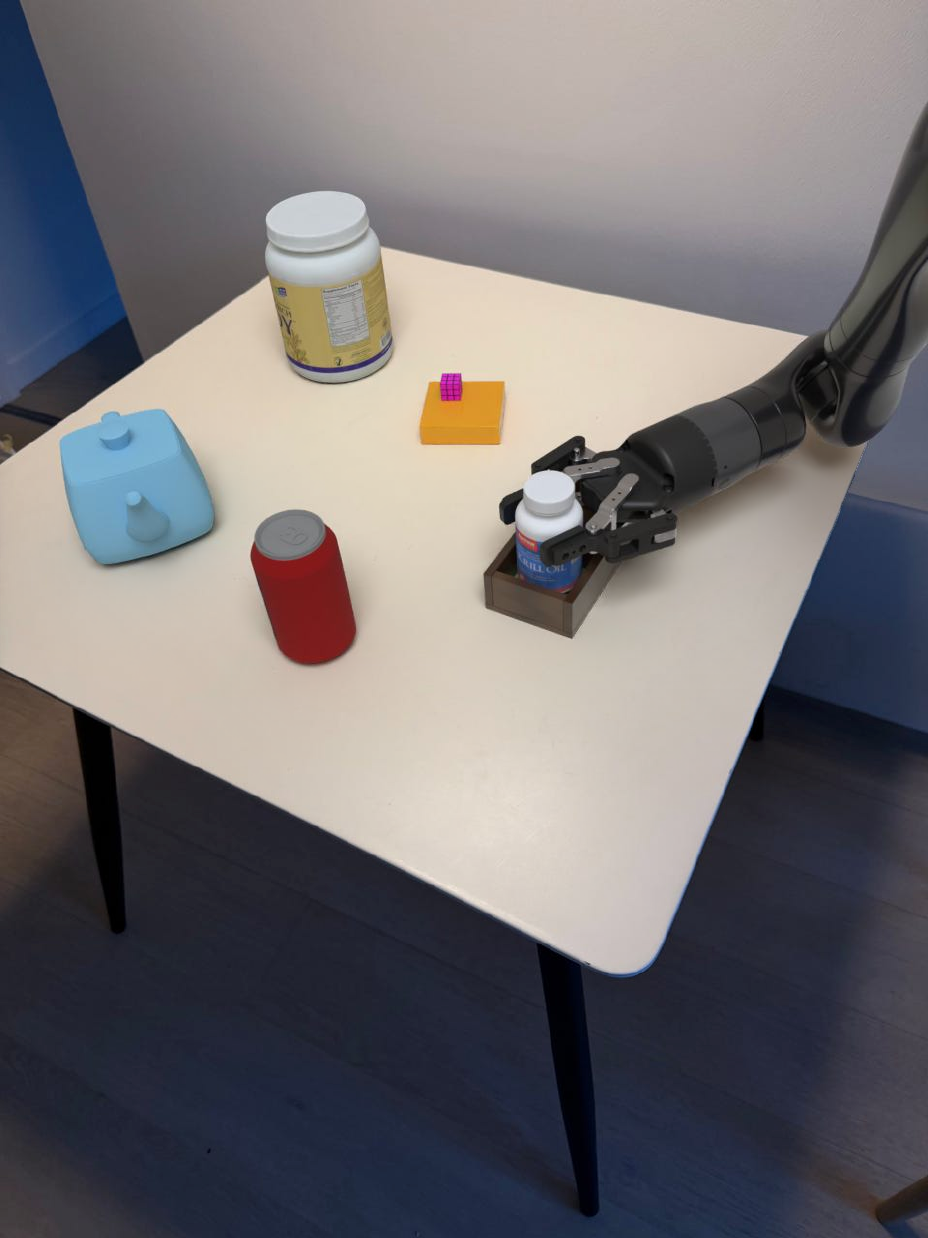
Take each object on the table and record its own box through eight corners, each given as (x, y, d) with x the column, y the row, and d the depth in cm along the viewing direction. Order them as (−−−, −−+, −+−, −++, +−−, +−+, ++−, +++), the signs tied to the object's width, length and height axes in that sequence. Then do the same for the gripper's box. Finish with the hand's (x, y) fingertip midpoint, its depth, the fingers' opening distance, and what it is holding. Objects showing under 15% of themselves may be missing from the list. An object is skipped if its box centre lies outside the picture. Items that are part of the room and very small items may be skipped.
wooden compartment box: (645, 525, 90) (647, 490, 87) (572, 639, 81) (572, 604, 78) (564, 501, 93) (564, 466, 90) (485, 608, 84) (482, 573, 81)
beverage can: (314, 599, 86) (287, 492, 78) (374, 629, 83) (352, 522, 75) (261, 648, 83) (226, 542, 74) (321, 682, 80) (292, 575, 71)
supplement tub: (275, 347, 115) (241, 204, 103) (372, 318, 118) (350, 176, 106) (308, 400, 108) (276, 252, 95) (411, 367, 111) (392, 219, 98)
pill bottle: (508, 590, 83) (502, 500, 76) (530, 548, 86) (525, 458, 79) (571, 604, 81) (570, 513, 74) (590, 561, 84) (591, 470, 77)
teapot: (103, 618, 87) (55, 519, 78) (75, 501, 98) (31, 404, 90) (240, 573, 89) (207, 472, 81) (197, 464, 101) (165, 366, 93)
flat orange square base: (505, 398, 105) (503, 363, 102) (500, 444, 100) (498, 409, 97) (431, 399, 106) (427, 364, 103) (421, 444, 101) (417, 409, 98)
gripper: (640, 379, 85) (471, 451, 80) (755, 464, 76) (573, 551, 71) (636, 449, 91) (478, 521, 86) (743, 536, 82) (573, 621, 77)
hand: (522, 534), depth 78 cm, fingers closed on pill bottle, 5 cm apart
